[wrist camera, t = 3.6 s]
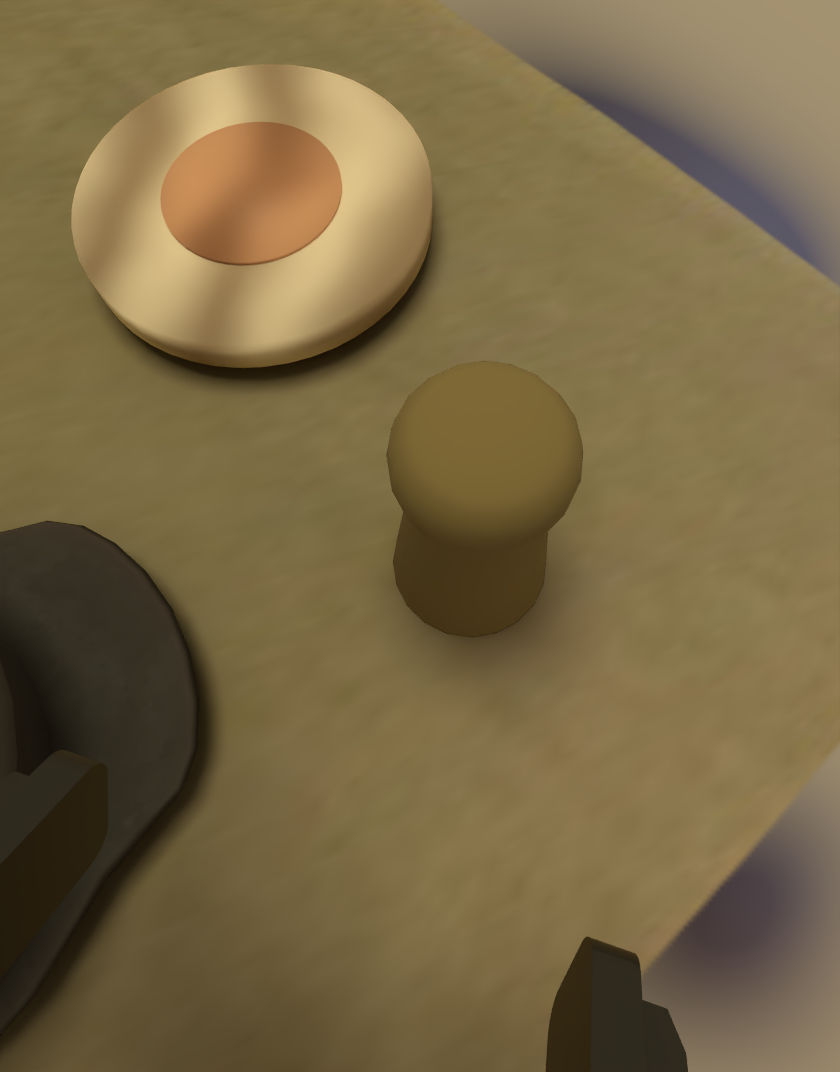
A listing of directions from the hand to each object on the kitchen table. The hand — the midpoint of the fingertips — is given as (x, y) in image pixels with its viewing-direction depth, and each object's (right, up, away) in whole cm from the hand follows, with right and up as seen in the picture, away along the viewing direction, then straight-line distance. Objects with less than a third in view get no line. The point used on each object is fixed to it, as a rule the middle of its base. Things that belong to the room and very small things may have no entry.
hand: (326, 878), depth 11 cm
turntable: (-6, +20, +22) cm, 30 cm away
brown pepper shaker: (+3, +4, +16) cm, 17 cm away
